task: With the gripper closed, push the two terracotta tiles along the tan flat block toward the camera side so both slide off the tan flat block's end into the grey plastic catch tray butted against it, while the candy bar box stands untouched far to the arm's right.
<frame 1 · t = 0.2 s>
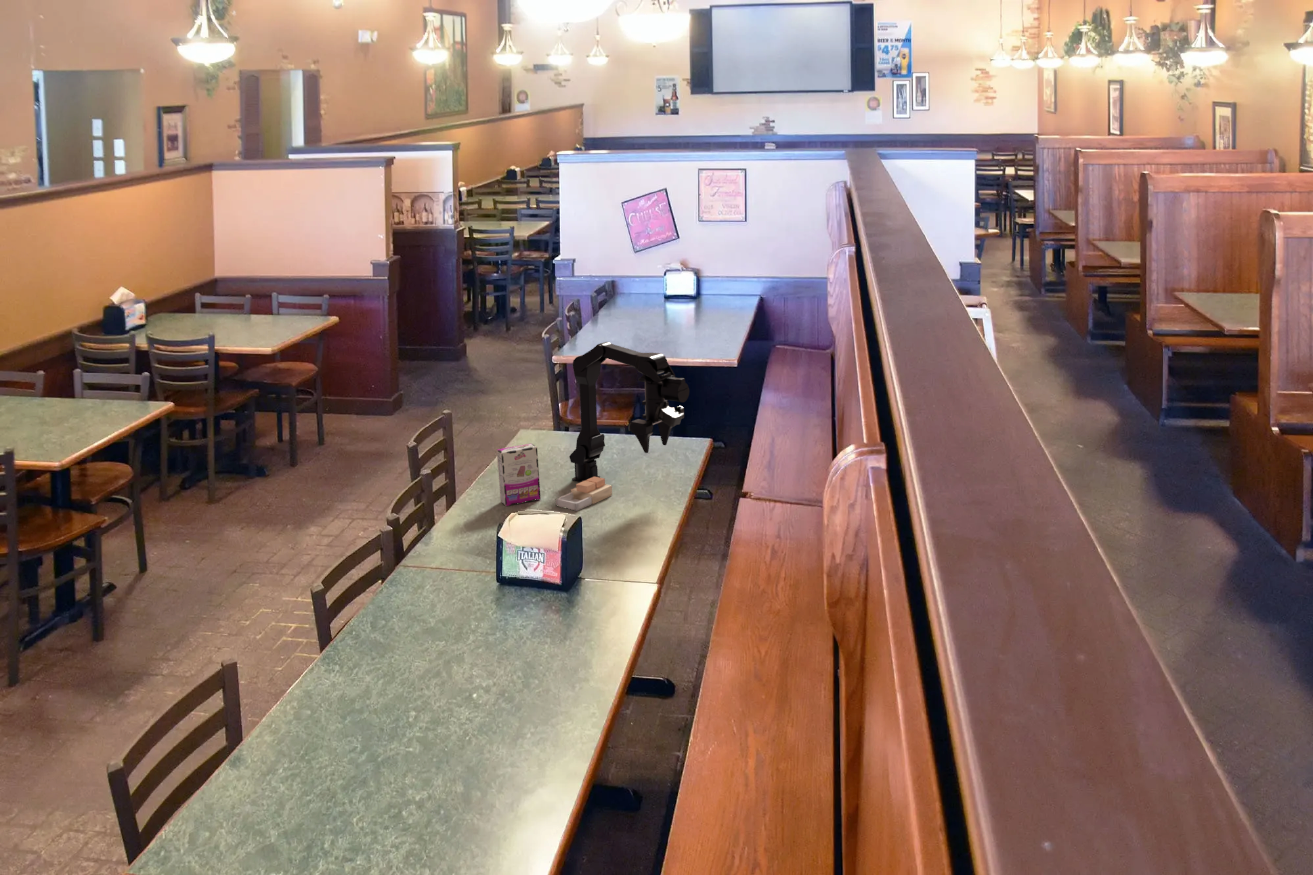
hand: (655, 448, 335), 14 cm above the table, fingers open, 9 cm apart
tile rear: (595, 485, 339), point 3 cm above the table, touching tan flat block
catch tray: (573, 505, 332), on the table
candy bar box: (520, 501, 337), on the table
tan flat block: (591, 497, 338), on the table
tile front: (586, 489, 336), point 3 cm above the table, touching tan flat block
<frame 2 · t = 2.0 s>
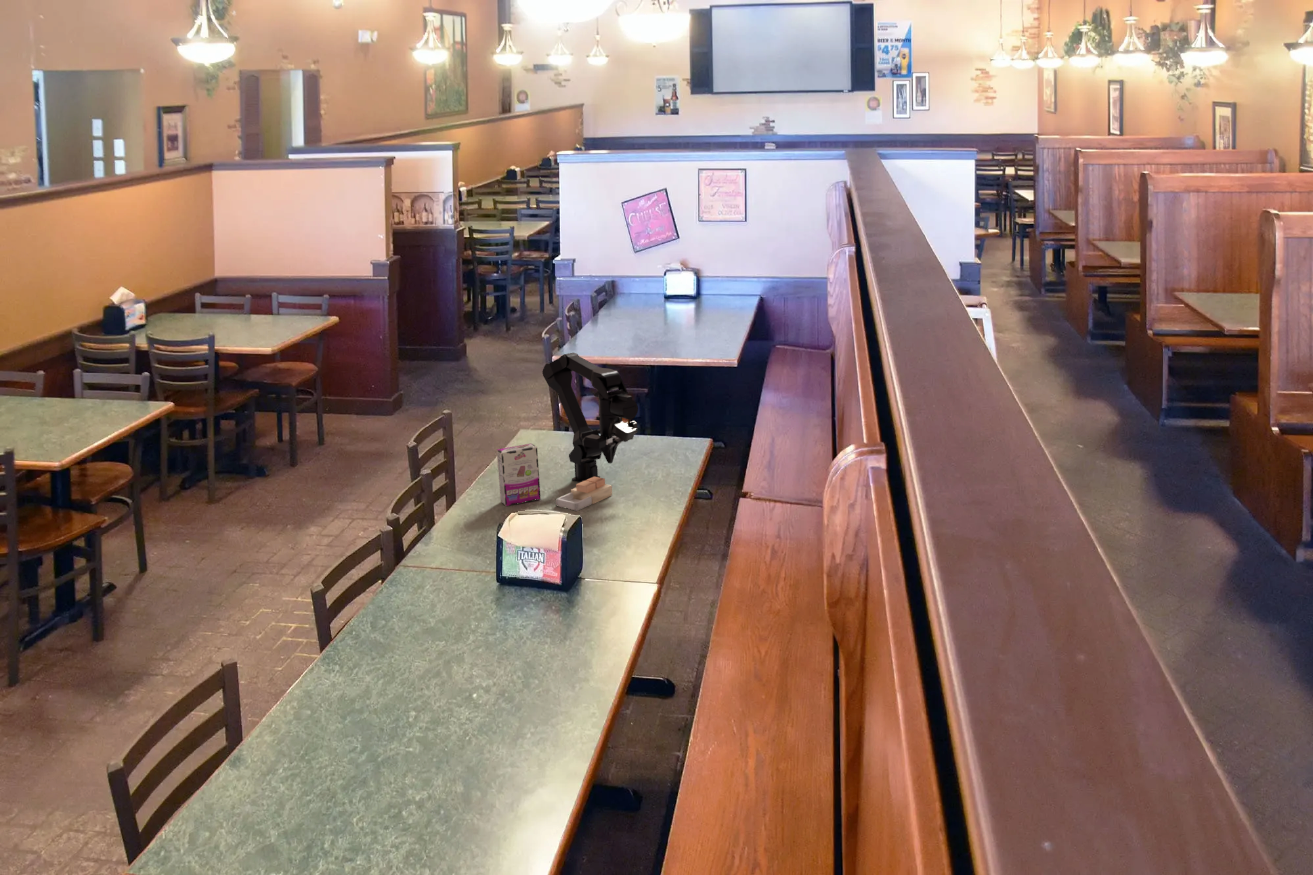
hand: (610, 463, 344), 8 cm above the table, fingers closed
nothing on the table moved.
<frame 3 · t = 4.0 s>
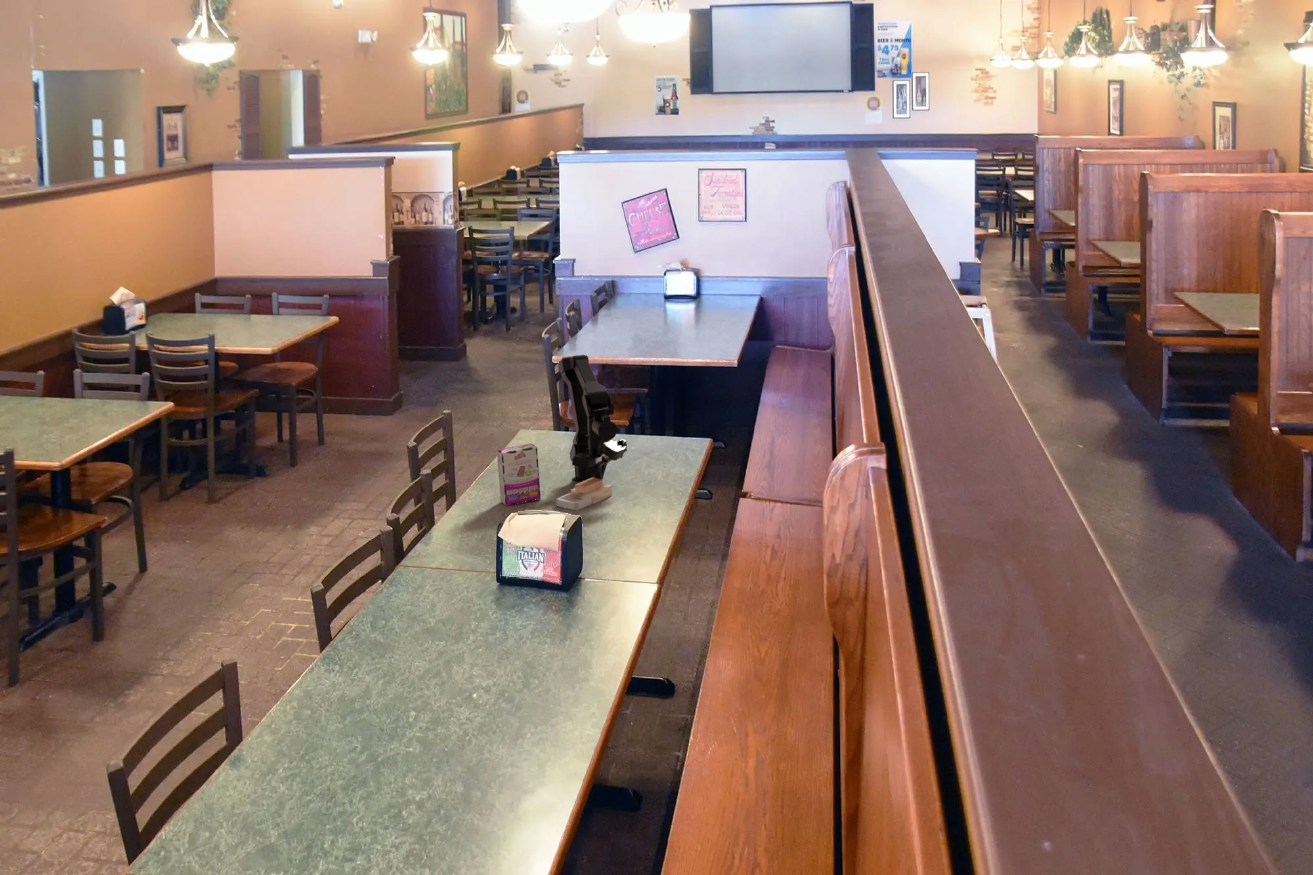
hand: (599, 481, 340), 4 cm above the table, fingers closed
tile rear: (593, 486, 338), point 3 cm above the table, touching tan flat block, gripper, tile front
tile front: (585, 490, 335), point 3 cm above the table, touching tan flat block, tile rear
everything else where it was.
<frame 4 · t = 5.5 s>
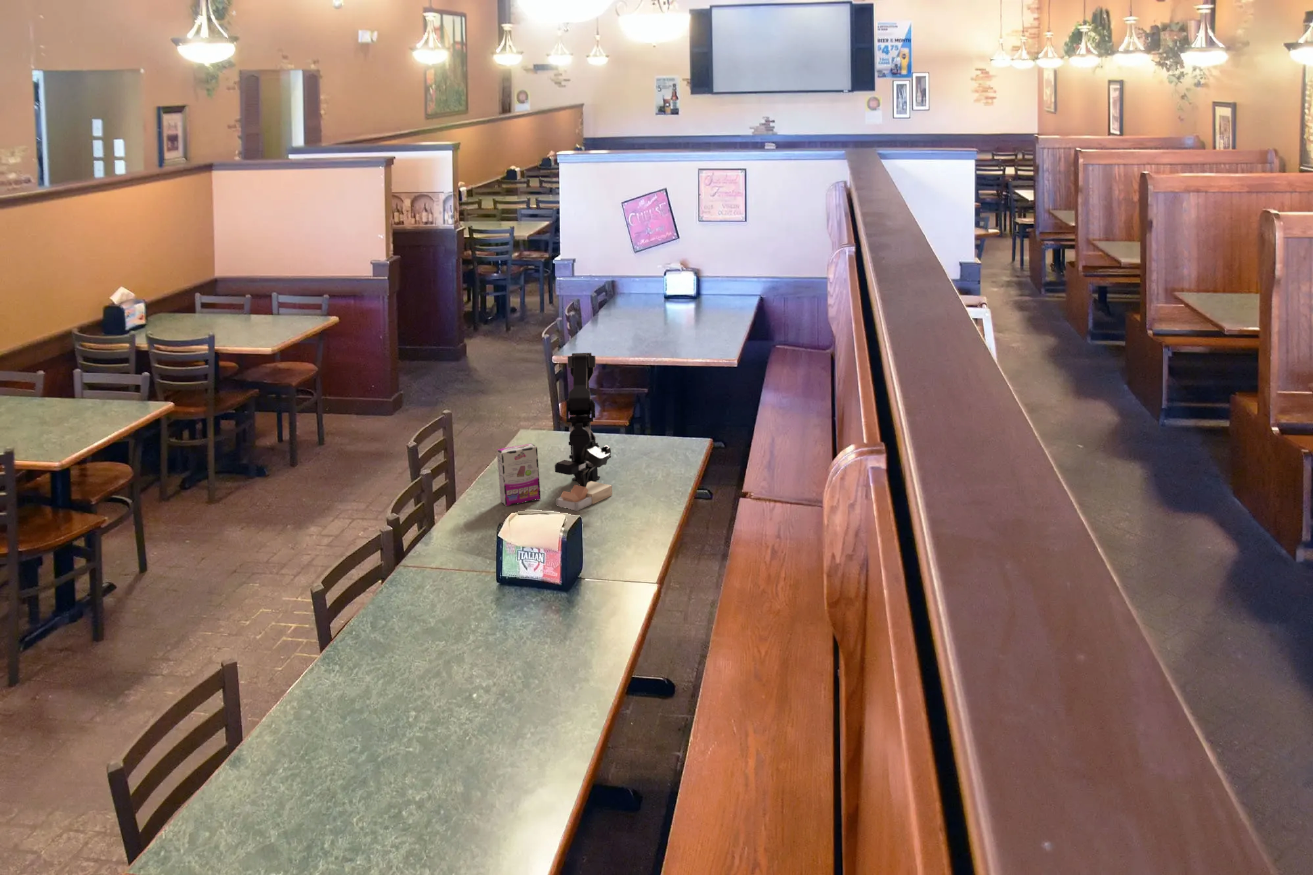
hand: (583, 488, 334), 4 cm above the table, fingers closed
tile rear: (580, 495, 333), point 2 cm above the table, tilted 46°, touching gripper, tile front
tile front: (572, 495, 330), point 3 cm above the table, tilted 133°, touching catch tray, tile rear
everything else where it was.
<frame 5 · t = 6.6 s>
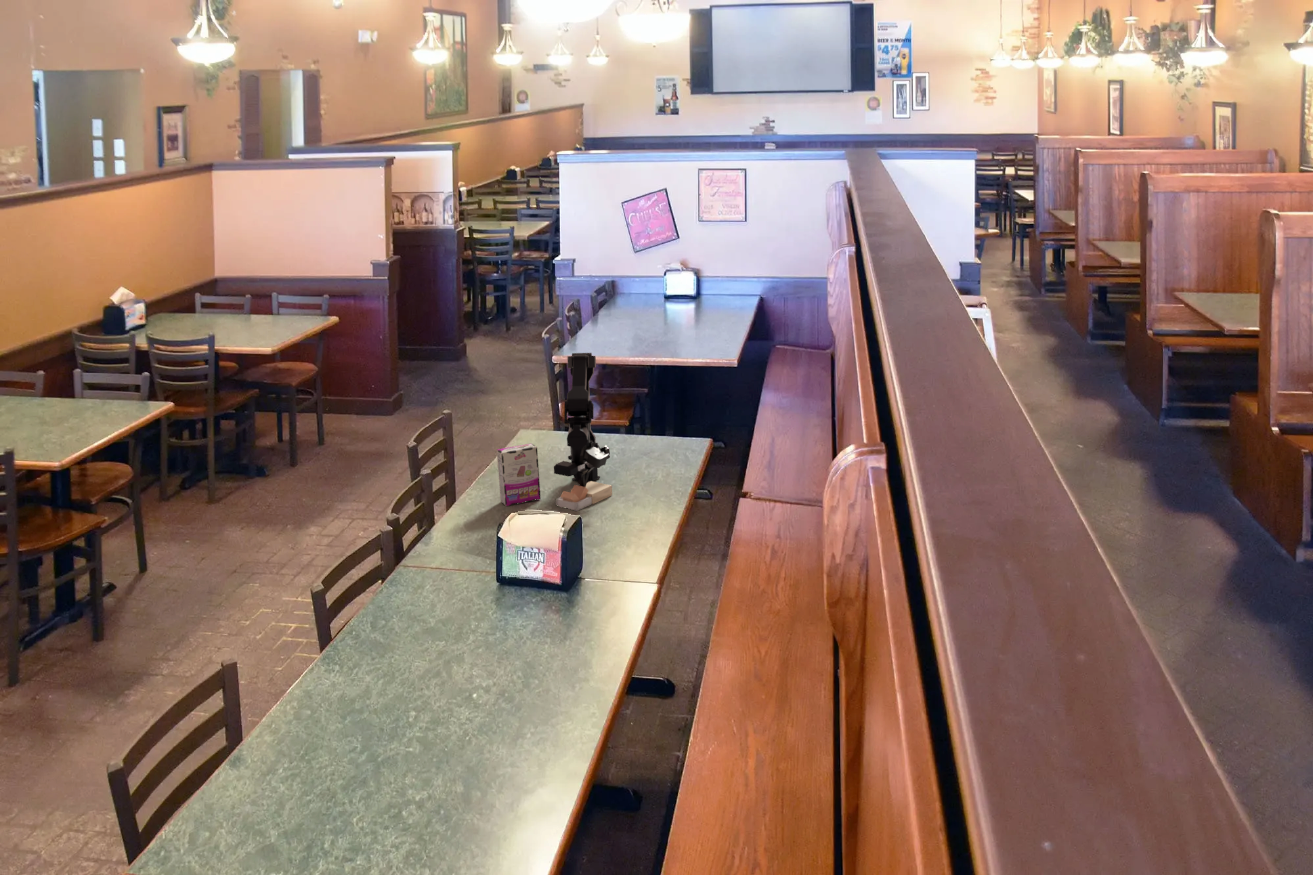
hand: (583, 489, 334), 4 cm above the table, fingers closed
tile rear: (580, 495, 333), point 2 cm above the table, tilted 45°, touching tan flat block, gripper, tile front
everything else where it was.
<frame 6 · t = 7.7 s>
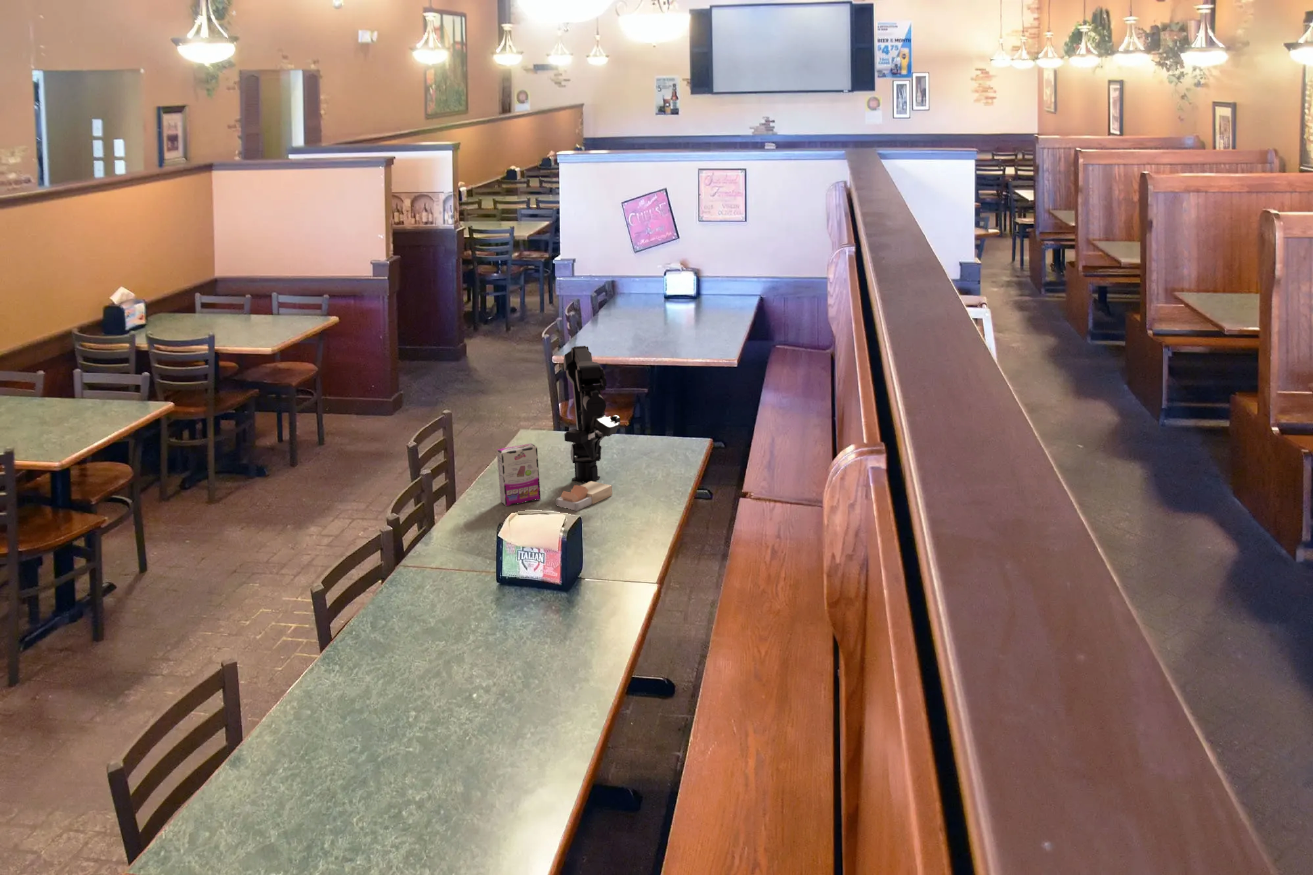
hand: (592, 458, 336), 12 cm above the table, fingers closed
tile rear: (580, 495, 333), point 2 cm above the table, tilted 45°, touching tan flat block, tile front
everything else where it was.
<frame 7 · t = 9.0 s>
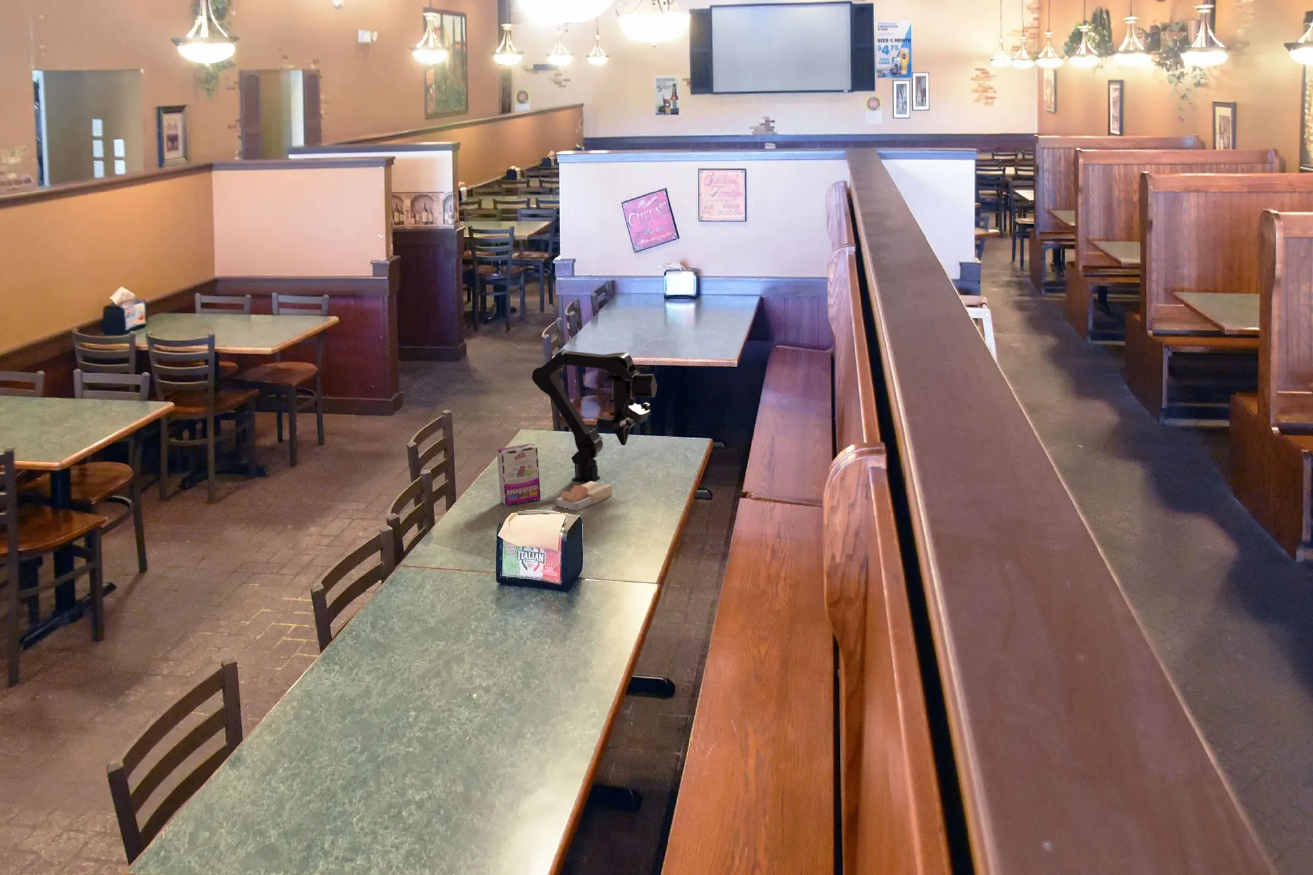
hand: (623, 444, 348), 12 cm above the table, fingers closed
nothing on the table moved.
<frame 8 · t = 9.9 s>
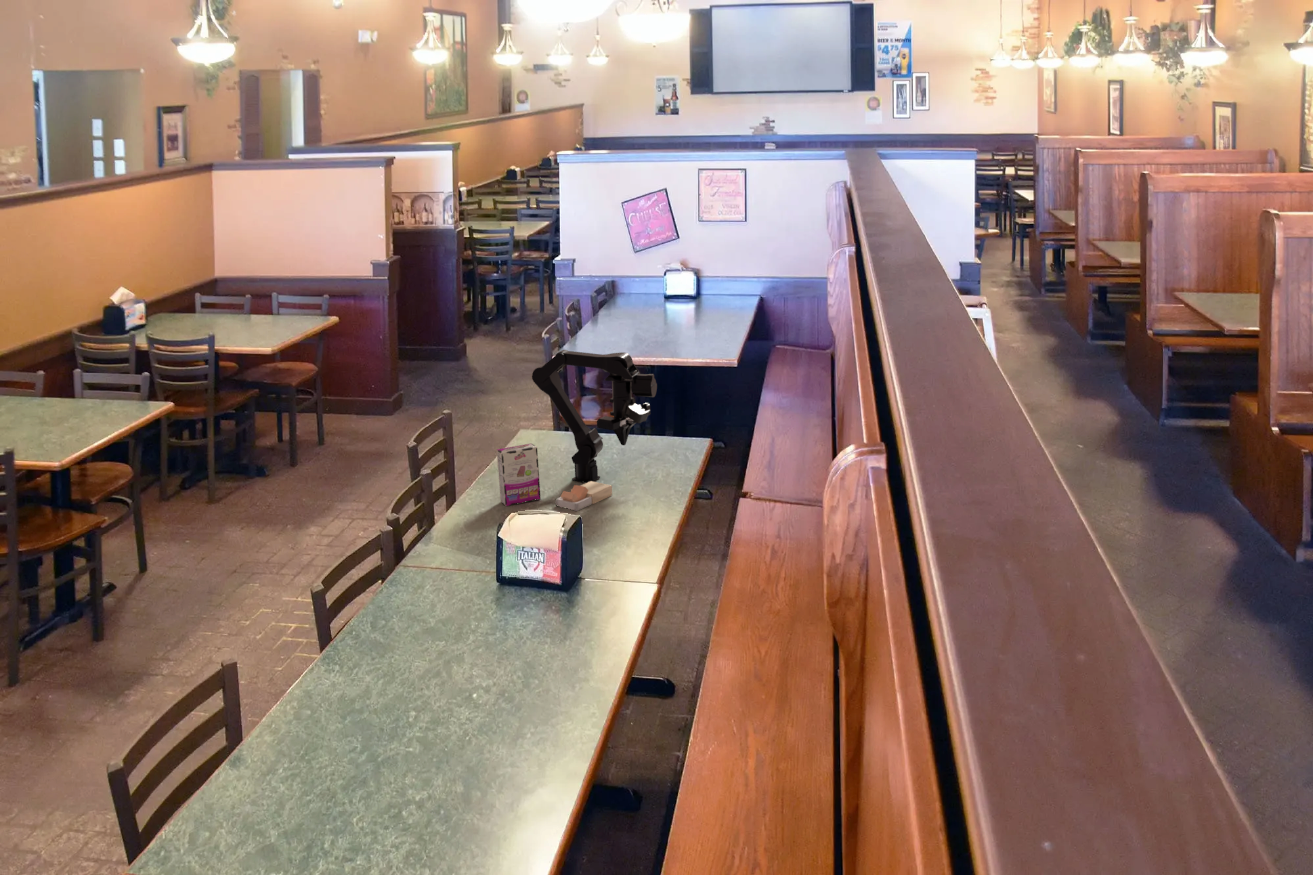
hand: (623, 444, 348), 12 cm above the table, fingers closed
nothing on the table moved.
at the end: tile front inside the target area (0.7 cm from its centre), point 3.2 cm above the table; tile rear inside the target area (3.1 cm from its centre), point 2.3 cm above the table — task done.
